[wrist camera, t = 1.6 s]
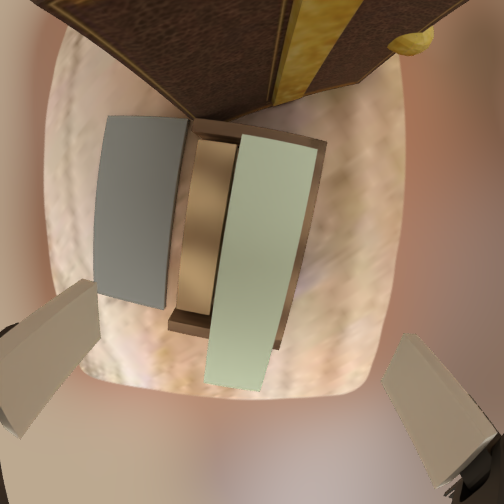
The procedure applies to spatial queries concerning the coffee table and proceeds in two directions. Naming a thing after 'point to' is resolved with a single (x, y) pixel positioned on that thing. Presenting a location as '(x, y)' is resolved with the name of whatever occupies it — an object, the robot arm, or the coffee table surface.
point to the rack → (232, 134)
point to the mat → (137, 206)
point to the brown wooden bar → (205, 224)
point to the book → (251, 45)
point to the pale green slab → (257, 258)
